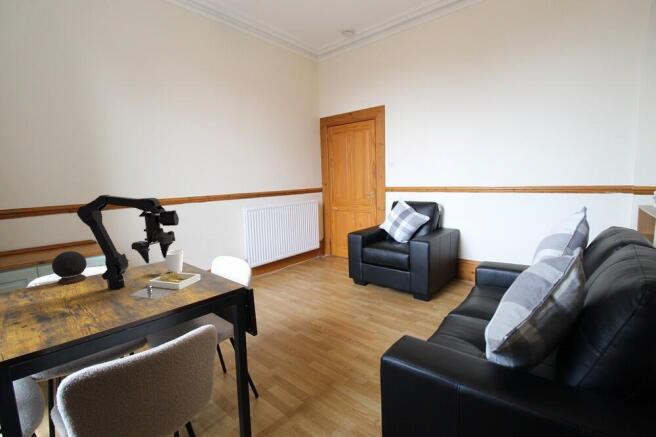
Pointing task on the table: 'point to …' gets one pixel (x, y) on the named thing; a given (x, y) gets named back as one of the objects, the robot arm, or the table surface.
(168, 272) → the strut
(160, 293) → the stud plate
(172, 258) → the cup
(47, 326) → the table surface
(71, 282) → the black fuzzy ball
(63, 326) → the table surface
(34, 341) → the table surface
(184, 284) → the bin
